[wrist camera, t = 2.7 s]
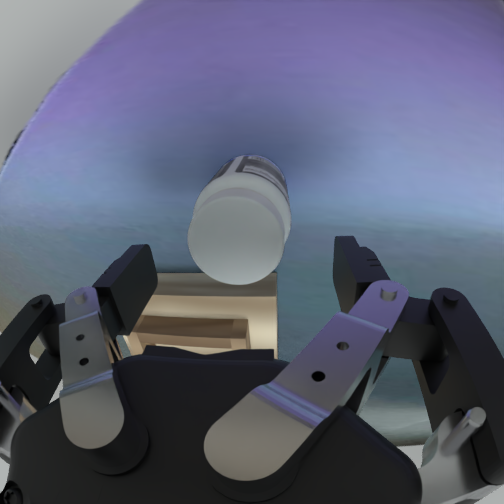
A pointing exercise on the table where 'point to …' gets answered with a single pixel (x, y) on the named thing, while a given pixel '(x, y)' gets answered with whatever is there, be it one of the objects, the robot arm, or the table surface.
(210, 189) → the pill bottle
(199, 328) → the wooden base
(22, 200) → the table surface
